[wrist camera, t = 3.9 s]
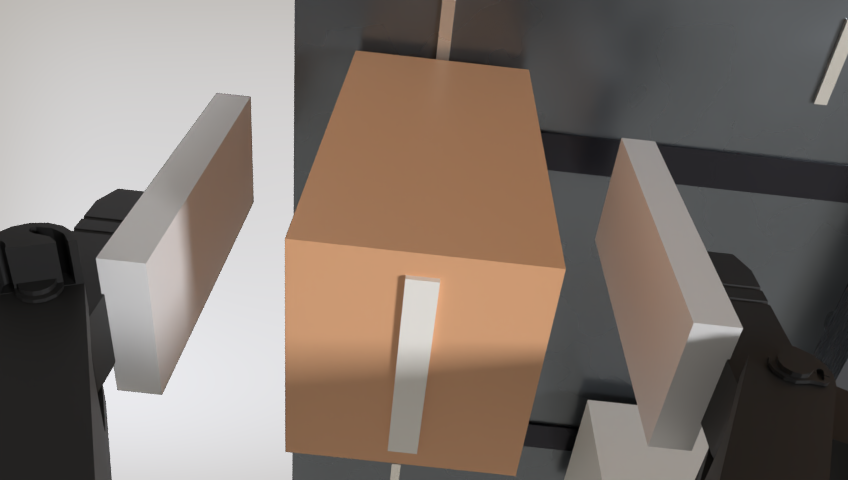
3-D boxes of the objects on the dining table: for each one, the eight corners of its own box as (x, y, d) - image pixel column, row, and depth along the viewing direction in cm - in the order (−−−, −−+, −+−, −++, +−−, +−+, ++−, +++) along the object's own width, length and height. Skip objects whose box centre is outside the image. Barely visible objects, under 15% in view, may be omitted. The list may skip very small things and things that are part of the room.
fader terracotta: (355, 50, 18) (283, 242, 11) (528, 69, 18) (566, 273, 11) (347, 214, 20) (284, 456, 13) (500, 230, 20) (515, 480, 13)
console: (304, -201, 16) (281, -194, 14) (1050, -116, 16) (1132, -97, 14) (297, 520, 29) (284, 577, 27) (712, 563, 29) (730, 624, 27)
